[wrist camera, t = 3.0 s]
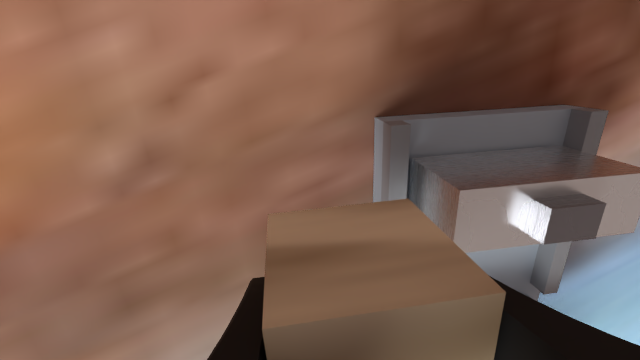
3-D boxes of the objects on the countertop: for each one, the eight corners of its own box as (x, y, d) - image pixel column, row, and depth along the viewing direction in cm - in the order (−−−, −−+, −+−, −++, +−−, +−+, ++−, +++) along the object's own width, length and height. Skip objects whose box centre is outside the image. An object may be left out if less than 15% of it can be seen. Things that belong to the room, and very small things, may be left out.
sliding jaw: (548, 193, 19) (658, 244, 13) (407, 207, 18) (465, 268, 12) (559, 145, 18) (684, 179, 12) (410, 157, 17) (475, 200, 11)
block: (404, 289, 12) (482, 421, 8) (280, 307, 12) (283, 461, 7) (408, 198, 11) (506, 292, 6) (268, 214, 10) (262, 329, 6)
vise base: (519, 299, 24) (600, 377, 18) (370, 320, 23) (405, 412, 17) (564, 104, 19) (700, 122, 13) (374, 117, 18) (427, 143, 11)
